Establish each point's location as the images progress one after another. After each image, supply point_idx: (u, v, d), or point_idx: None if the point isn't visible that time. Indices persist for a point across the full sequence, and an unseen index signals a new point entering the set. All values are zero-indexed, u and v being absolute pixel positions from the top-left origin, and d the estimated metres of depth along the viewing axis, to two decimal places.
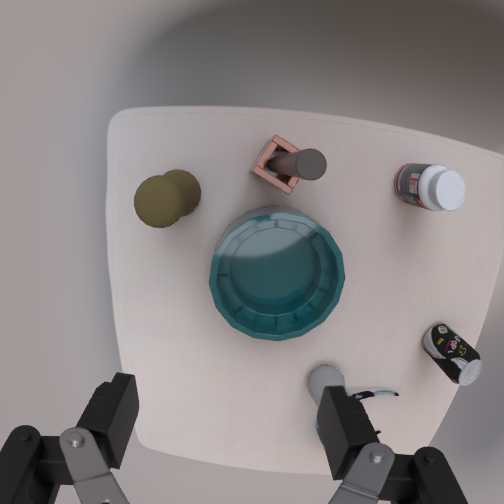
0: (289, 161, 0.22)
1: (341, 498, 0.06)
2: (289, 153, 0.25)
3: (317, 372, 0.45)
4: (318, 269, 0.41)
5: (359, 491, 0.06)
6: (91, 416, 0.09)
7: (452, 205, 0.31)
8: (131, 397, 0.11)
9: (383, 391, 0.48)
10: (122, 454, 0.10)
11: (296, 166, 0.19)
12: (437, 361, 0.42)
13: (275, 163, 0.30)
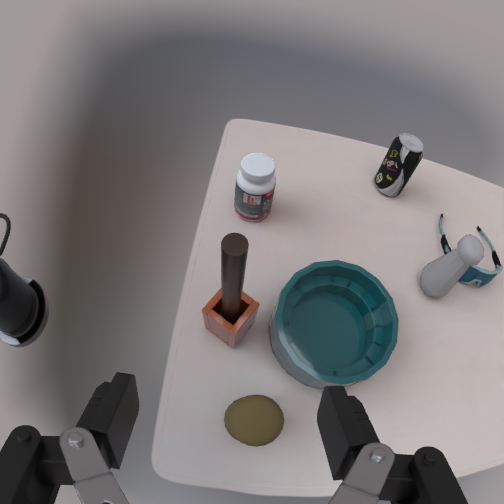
0: (230, 271, 0.25)
1: (341, 498, 0.06)
2: (222, 281, 0.28)
3: (427, 287, 0.44)
4: (330, 289, 0.43)
5: (359, 491, 0.06)
6: (91, 416, 0.09)
7: (270, 163, 0.43)
8: (131, 397, 0.11)
9: (439, 227, 0.51)
10: (122, 454, 0.10)
11: (235, 255, 0.23)
12: (406, 177, 0.50)
13: (229, 308, 0.33)
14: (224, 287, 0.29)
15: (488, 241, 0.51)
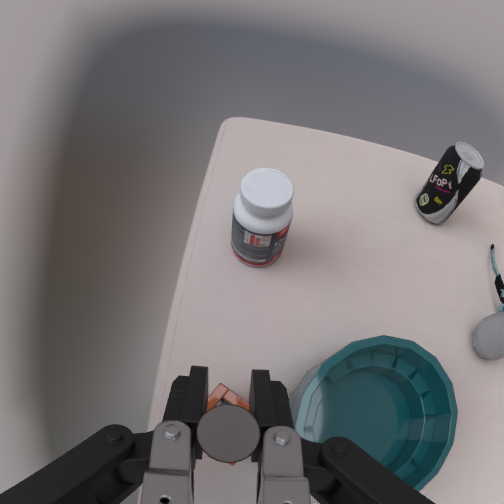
0: None
1: (272, 490, 0.06)
2: None
3: (483, 351, 0.29)
4: (367, 368, 0.28)
5: (285, 478, 0.07)
6: (176, 409, 0.11)
7: (285, 185, 0.28)
8: (206, 389, 0.13)
9: (493, 263, 0.36)
10: None
11: (231, 461, 0.08)
12: (460, 201, 0.35)
13: None
14: None
15: None
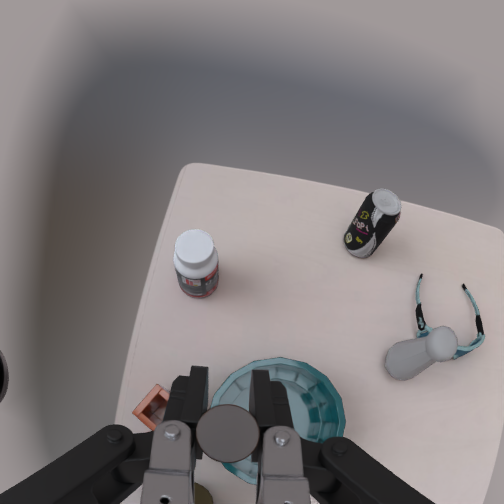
0: None
1: (272, 490, 0.06)
2: None
3: (390, 372, 0.39)
4: (276, 380, 0.39)
5: (285, 478, 0.07)
6: (176, 409, 0.11)
7: (208, 244, 0.38)
8: (206, 388, 0.13)
9: (416, 293, 0.47)
10: None
11: (230, 461, 0.08)
12: (379, 240, 0.45)
13: None
14: None
15: (473, 302, 0.47)
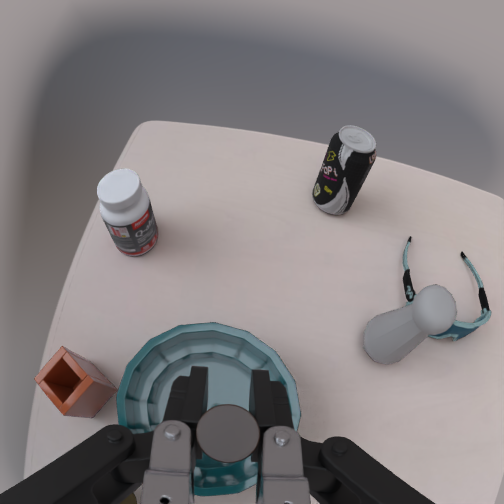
0: None
1: (272, 490, 0.06)
2: None
3: (369, 352, 0.31)
4: (215, 355, 0.31)
5: (285, 478, 0.07)
6: (176, 409, 0.11)
7: (133, 182, 0.30)
8: (206, 389, 0.13)
9: (403, 257, 0.39)
10: None
11: (230, 461, 0.08)
12: (353, 189, 0.37)
13: None
14: None
15: (475, 273, 0.39)
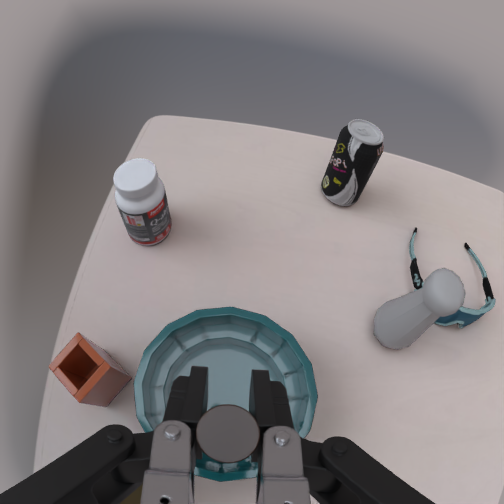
0: None
1: (272, 490, 0.06)
2: None
3: (380, 338, 0.32)
4: (230, 341, 0.32)
5: (285, 478, 0.07)
6: (176, 409, 0.11)
7: (150, 171, 0.31)
8: (206, 389, 0.13)
9: (410, 247, 0.40)
10: None
11: (230, 461, 0.08)
12: (361, 180, 0.38)
13: None
14: None
15: (478, 263, 0.40)
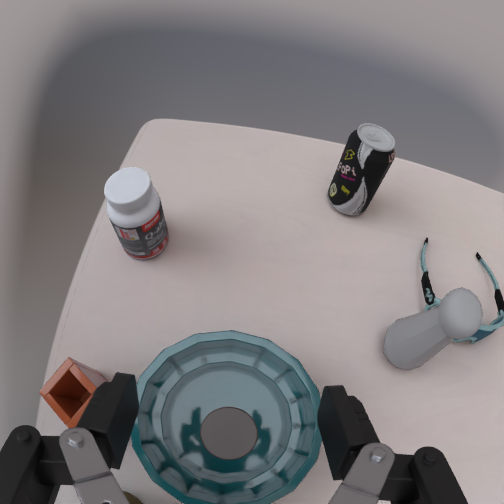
0: None
1: (341, 498, 0.06)
2: None
3: (390, 358, 0.30)
4: (232, 365, 0.29)
5: (359, 491, 0.06)
6: (91, 416, 0.09)
7: (143, 181, 0.28)
8: (131, 397, 0.11)
9: (421, 259, 0.37)
10: (122, 454, 0.10)
11: (231, 458, 0.09)
12: (371, 189, 0.36)
13: None
14: None
15: (490, 274, 0.37)
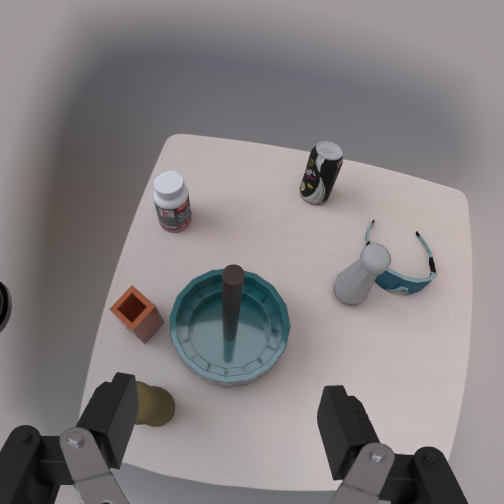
0: (229, 295, 0.30)
1: (341, 498, 0.06)
2: (223, 301, 0.33)
3: (338, 295, 0.48)
4: None
5: (359, 491, 0.06)
6: (92, 416, 0.09)
7: (179, 180, 0.47)
8: (131, 397, 0.11)
9: (366, 233, 0.56)
10: (122, 454, 0.10)
11: (234, 284, 0.28)
12: (327, 185, 0.55)
13: (229, 322, 0.38)
14: (224, 306, 0.34)
15: (426, 247, 0.56)
